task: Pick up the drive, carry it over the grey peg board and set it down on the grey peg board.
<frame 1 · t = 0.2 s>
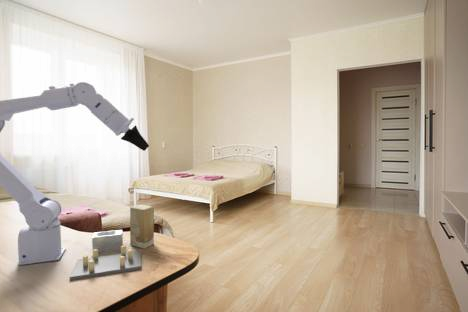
hand: (146, 148, 84), 31 cm above the table, tool tilted 45°, fingers open, 7 cm apart
drive: (108, 249, 82), on the table
grey peg board: (108, 265, 71), on the table
skincare box: (142, 245, 86), on the table
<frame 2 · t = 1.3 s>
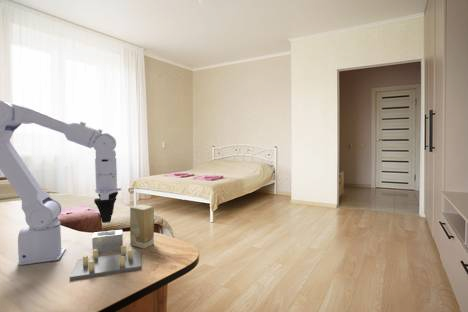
hand: (107, 218, 82), 9 cm above the table, tool pointing down, fingers open, 7 cm apart
nothing on the table moved.
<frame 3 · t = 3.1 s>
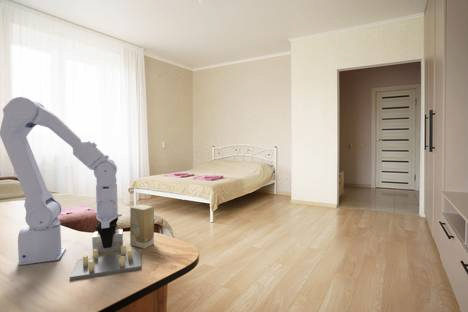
hand: (108, 244, 82), 1 cm above the table, tool pointing down, fingers closed on drive, 4 cm apart
drive: (108, 248, 82), on the table, touching gripper
everything else where it was.
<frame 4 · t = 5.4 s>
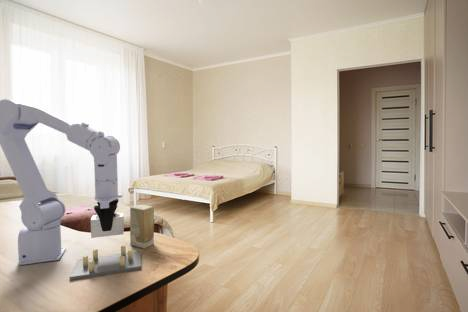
hand: (107, 227, 76), 8 cm above the table, tool pointing down, fingers closed on drive, 4 cm apart
drive: (108, 233, 76), point 7 cm above the table, touching gripper
everything else where it was.
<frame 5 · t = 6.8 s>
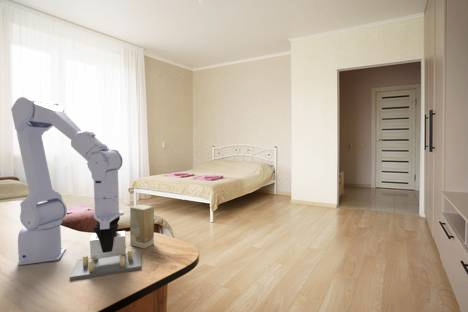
hand: (108, 247, 71), 5 cm above the table, tool pointing down, fingers closed on drive, 4 cm apart
drive: (109, 253, 71), point 3 cm above the table, touching gripper
everything else where it was.
when the fingers open (3 cm above the table, at t = 8.0 s): drive stays where it is, resting on grey peg board.
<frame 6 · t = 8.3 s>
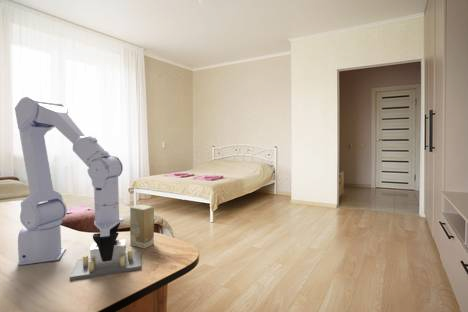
hand: (108, 254, 71), 3 cm above the table, tool pointing down, fingers open, 7 cm apart
drive: (109, 262, 71), point 1 cm above the table, touching grey peg board
everything else where it was.
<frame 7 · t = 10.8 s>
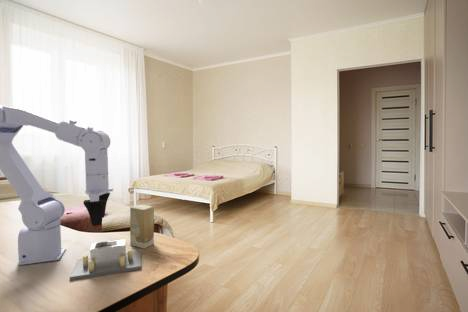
hand: (98, 221, 77), 10 cm above the table, tool pointing down, fingers open, 7 cm apart
nothing on the table moved.
at the end: drive 0.1 cm off-centre on the grey peg board, point 0.8 cm above the grey peg board's base; drive tilted 0°; the gripper is holding nothing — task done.
